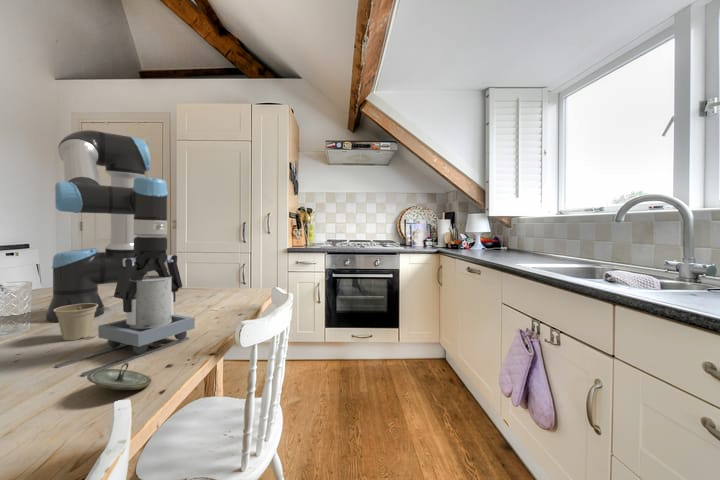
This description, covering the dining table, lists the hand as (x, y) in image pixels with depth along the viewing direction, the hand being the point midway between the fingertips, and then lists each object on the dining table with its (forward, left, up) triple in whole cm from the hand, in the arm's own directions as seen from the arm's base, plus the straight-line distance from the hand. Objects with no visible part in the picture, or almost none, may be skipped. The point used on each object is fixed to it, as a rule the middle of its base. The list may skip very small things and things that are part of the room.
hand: (151, 319), depth 85 cm
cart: (0, -1, -7) cm, 7 cm away
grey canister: (0, 0, -1) cm, 1 cm away
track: (0, -6, -7) cm, 9 cm away
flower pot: (-24, -5, -7) cm, 25 cm away
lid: (+18, -18, -7) cm, 27 cm away
